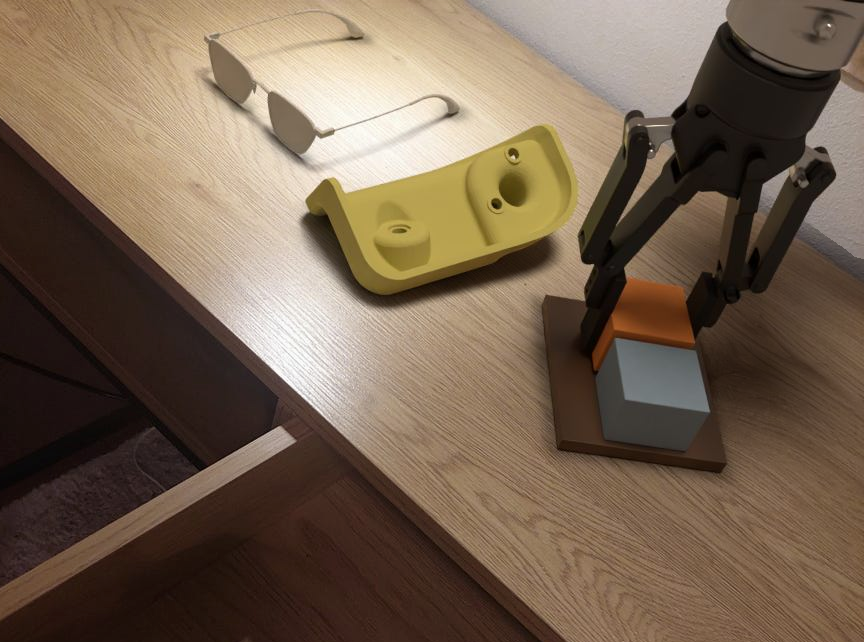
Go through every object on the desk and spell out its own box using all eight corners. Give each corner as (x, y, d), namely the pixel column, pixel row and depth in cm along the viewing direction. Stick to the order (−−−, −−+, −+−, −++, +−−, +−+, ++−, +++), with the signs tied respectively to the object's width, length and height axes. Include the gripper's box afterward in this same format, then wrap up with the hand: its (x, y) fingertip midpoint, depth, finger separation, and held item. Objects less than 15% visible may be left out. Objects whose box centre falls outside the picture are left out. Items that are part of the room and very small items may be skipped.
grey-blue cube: (673, 390, 78) (696, 350, 74) (685, 452, 74) (710, 412, 71) (594, 378, 77) (614, 337, 74) (603, 440, 73) (625, 399, 70)
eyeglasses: (199, 73, 92) (201, 28, 88) (354, 30, 101) (362, -13, 98) (313, 172, 86) (320, 128, 83) (466, 117, 96) (478, 75, 92)
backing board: (688, 328, 84) (693, 318, 83) (721, 472, 75) (727, 463, 74) (541, 304, 82) (545, 294, 81) (557, 449, 73) (562, 439, 73)
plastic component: (377, 287, 76) (322, 159, 76) (346, 326, 83) (296, 209, 83) (596, 221, 83) (545, 105, 83) (551, 262, 90) (504, 154, 90)
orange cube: (661, 327, 81) (682, 286, 78) (672, 383, 78) (695, 342, 74) (585, 315, 80) (604, 272, 77) (593, 370, 77) (614, 329, 74)
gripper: (633, 45, 57) (508, 361, 75) (954, 112, 60) (758, 401, 78) (617, -23, 61) (503, 291, 80) (916, 42, 64) (739, 332, 82)
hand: (629, 345), depth 79 cm, fingers closed on orange cube, 6 cm apart
